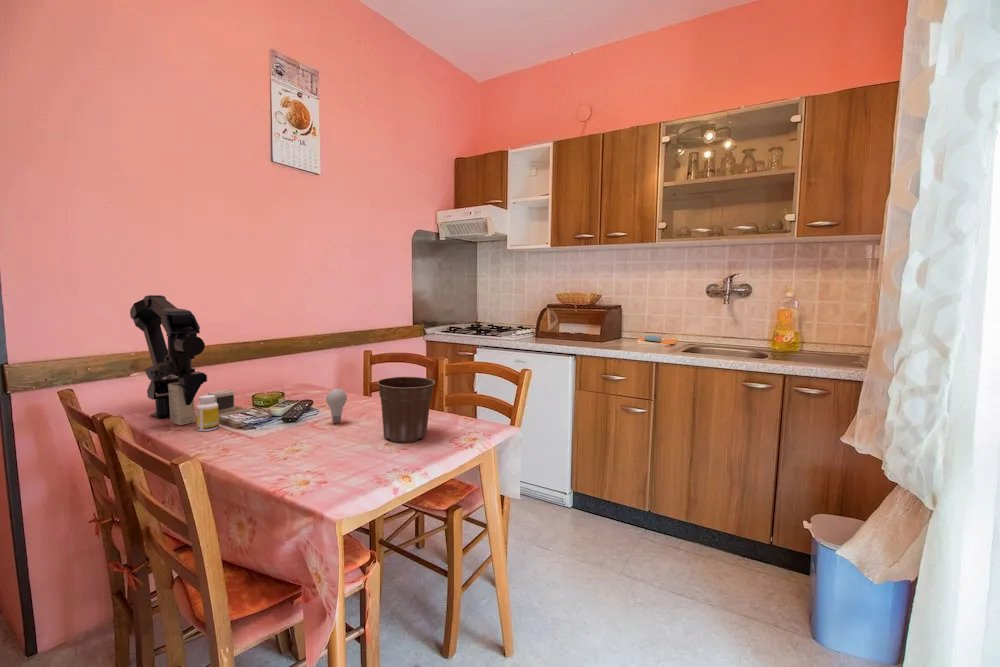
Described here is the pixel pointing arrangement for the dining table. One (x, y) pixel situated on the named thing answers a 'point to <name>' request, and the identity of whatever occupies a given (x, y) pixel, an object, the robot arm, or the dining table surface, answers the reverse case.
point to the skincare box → (179, 406)
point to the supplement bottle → (207, 413)
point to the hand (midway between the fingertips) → (181, 403)
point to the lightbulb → (336, 403)
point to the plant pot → (405, 407)
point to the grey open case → (232, 409)
